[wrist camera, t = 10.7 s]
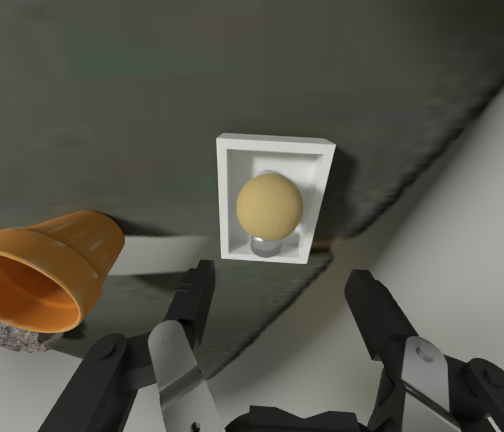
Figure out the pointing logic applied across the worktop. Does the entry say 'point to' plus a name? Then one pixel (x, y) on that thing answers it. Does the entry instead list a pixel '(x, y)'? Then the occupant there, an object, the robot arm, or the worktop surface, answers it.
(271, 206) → the amber frosted bulb
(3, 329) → the rock
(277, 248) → the grey rounded piece
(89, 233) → the flower pot
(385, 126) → the worktop surface
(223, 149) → the tray
